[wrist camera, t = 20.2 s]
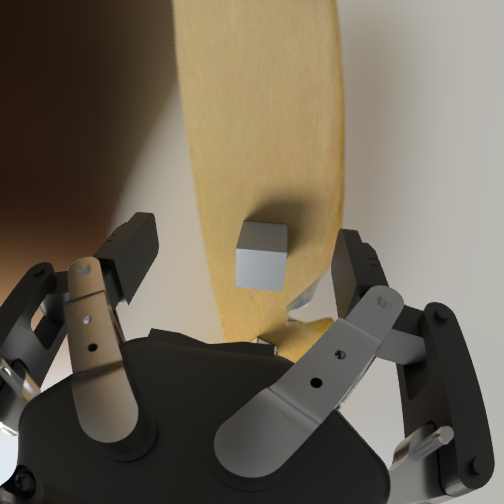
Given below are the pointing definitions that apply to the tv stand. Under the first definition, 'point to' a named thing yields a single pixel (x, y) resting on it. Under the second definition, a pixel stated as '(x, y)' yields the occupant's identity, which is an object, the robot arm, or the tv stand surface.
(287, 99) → the tv stand surface
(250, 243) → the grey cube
